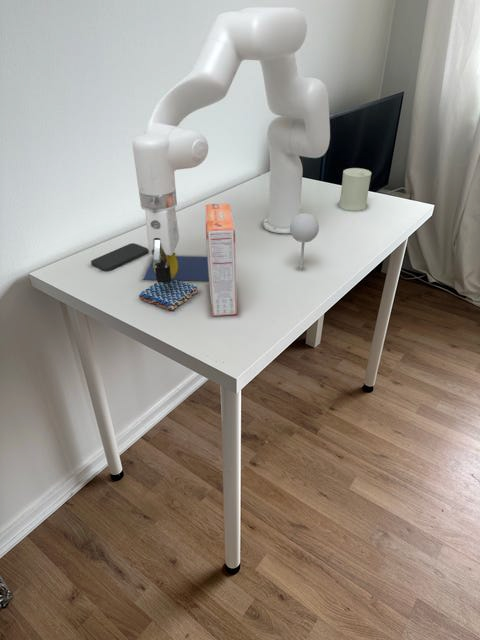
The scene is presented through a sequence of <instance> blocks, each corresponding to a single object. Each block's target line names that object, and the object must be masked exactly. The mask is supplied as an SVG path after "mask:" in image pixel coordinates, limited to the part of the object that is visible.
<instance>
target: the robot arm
mask: <svg viewBox="0 0 480 640" xmlns="http://www.w3.org/2000/svg"><path fill="white" fill-rule="evenodd" d="M307 30H308V25H307V20H306V17H305V15H304V13H303V12H302V11H301V10H300V9H299V8H297V7H294V6H250V7H245V8H242V9H240V10H237V11H235V10H234V11H225V12H222V13H220V14H219V15H217V17H216V18H214V21H213V22H212V24H211V26H210V29H209V31H208V32H207V35H206V38H205V40H204V41H203V44H202V45H201V49H200V50H199V52H198V55H197V57H196V59H195V61H194V64H193V66H192V68H191V70H190V72H189V73H188V75H186V76H185V77H184V78H182V79H181V80H180V81H178V82H177V83H176V84H175V85H174V86H173V87H172V88H171V89H169V90H168V92H166V93H165V94H164V95H163V96H162V97H161V98H160V99H159V101H158V102H157V104H156V105H155V107H154V108H153V111H152V113H151V115H150V117H149V119H148V122H147V124H146V126H145V130H144V133H143V134H140V135H137V136H136V137H135V138H134V139H133V140H132V152H133V160H134V167H135V172H136V174H135V175H136V181H137V188H138V195H139V203H140V208H141V209H142V210H143V211H145V223H146V235H147V243H148V251H149V254H150V255H152V256H153V258H154V263H155V271H156V279H157V280H156V283H157V282H159V283H170V282H171V272H170V266H168V255H169V256H171V255H172V254H173V253H174V254H175V255H176V249H177V246H178V244H179V240H180V232H179V225H178V217H177V212H176V207H177V206H178V199H177V190H176V189H177V188H176V178H175V177H176V176H175V172H176V171H178V170H186V169H193V168H196V167H198V166H200V165H201V164H203V162H204V161H205V160H206V158H207V156H208V153H209V143H208V140H207V138H206V136H204V135H203V134H202V133H201V132H200V131H198V130H196V129H192V128H187V127H181V126H180V124H181V123H182V121H183V120H184V119H186V117H188V116H189V115H191V114H192V113H194V112H196V111H198V110H200V109H203V108H206V107H209V106H211V105H214V104H216V103H218V102H220V101H223V100H224V99H225V97H226V96H227V94H228V92H229V90H230V88H231V85H232V84H233V81H234V79H235V76H236V74H237V72H238V70H239V68H240V66H241V64H242V62H243V61H259V63H260V67H261V71H262V77H263V83H264V89H265V95H266V100H267V102H266V103H267V105H268V108H269V110H270V112H271V113H272V114H274V115H275V116H277V117H275V118H273V119H272V120H271V122H270V123H269V125H268V128H267V132H266V136H267V137H266V138H267V145H268V152H269V153H268V154H269V187H268V188H269V190H268V216H267V217H265V219H263V224H262V225H263V227H264V229H265V230H267V231H269V232H271V233H276V234H282V235H283V234H291V232H290V224H291V222H292V220H293V219H294V217H296V216H297V215H299V214H302V213H303V212H302V211H301V201H302V186H303V184H302V182H303V173H304V172H303V171H304V170H303V164H302V163H303V162H302V160H301V159H300V157H303V158H311V159H318V158H321V157H323V156H324V155H325V154H327V151H328V149H329V146H330V141H331V124H330V123H331V121H330V104H329V93H328V90H327V87H326V85H325V83H324V82H323V81H322V80H321V79H319V78H315V77H308V76H301V75H300V74H299V71H298V67H297V59H296V54H295V53H296V52H297V51H298V52H299V50H300V49H301V47H303V44H304V43H305V40H306V37H307V32H308V31H307ZM313 216H314V217H315V215H313ZM315 218H316V217H315ZM161 251H164V252H165V253H161ZM161 256H164V257H165V261H164V260H163V259H161Z"/></svg>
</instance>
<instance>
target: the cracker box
mask: <svg viewBox="0 0 480 640" xmlns="http://www.w3.org/2000/svg"><path fill="white" fill-rule="evenodd" d="M204 212H205V213H204V217H205V218H204V219H205V220H204V221H205V239H206V240H205V242H206V243H205V244H206V257H207V259H208V273H209V281H208V284H209V285H208V286H209V294H210V297H209V298H210V305H211V313H212V317H221V316H236V315H238V299H237V298H238V297H237V296H238V295H237V261H236V229H235V222H234V218H233V213H232V208H231V204H230V203H212V204H211V203H210V204H205V205H204Z"/></svg>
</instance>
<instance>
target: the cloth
mask: <svg viewBox="0 0 480 640" xmlns="http://www.w3.org/2000/svg"><path fill="white" fill-rule="evenodd" d="M175 256H176V258H177V261H178V271H177V273H176V275H175V276H174V277H173V279H175V280H176V279H177V280H178V281H183V282H209V273H208V259H207V256H186V255H185V256H184V255H181V256H179V255H175ZM153 261H154V257H153V258H152V260H151V262H150V264H149V266H148V268H147V271H146V273H145V274H144V276H143V279H142V280H143V281H157V279H156V273H155V271H154V267H153Z"/></svg>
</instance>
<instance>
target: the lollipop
mask: <svg viewBox="0 0 480 640" xmlns="http://www.w3.org/2000/svg"><path fill="white" fill-rule="evenodd" d="M301 213H302V214H299V215H297V216H296V217H294V219H293V220H292V222H291V224H290V232H291V233H290V235H291V237H292V238H293V239H294V240H295V241H297V242H299V243H301V247H300V248H301V250H300V262H299V269H300V270H303V268H304V267H303V266H304V265H303V264H304V256H305V255H304V254H305V243H309V242H311V241H313V240H314V239H316V237H317V236H318V234H319V232H320V231H319V230H320V223H319V221H318V219H317V218H316V217H314V216H315V215H313V214H312V213H308V212H304V213H303V212H301Z"/></svg>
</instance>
